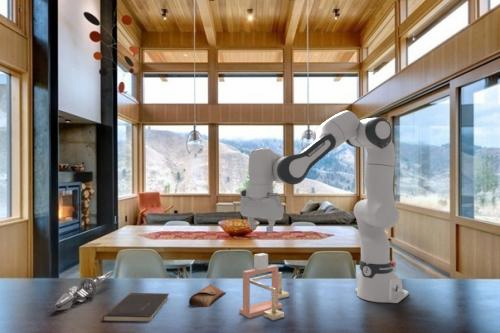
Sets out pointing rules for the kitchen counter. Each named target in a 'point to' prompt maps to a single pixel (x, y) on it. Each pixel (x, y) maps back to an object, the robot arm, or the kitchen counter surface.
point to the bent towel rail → (273, 312)
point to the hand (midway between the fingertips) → (261, 230)
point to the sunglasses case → (206, 296)
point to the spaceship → (81, 291)
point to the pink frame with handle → (259, 268)
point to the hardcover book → (136, 307)
